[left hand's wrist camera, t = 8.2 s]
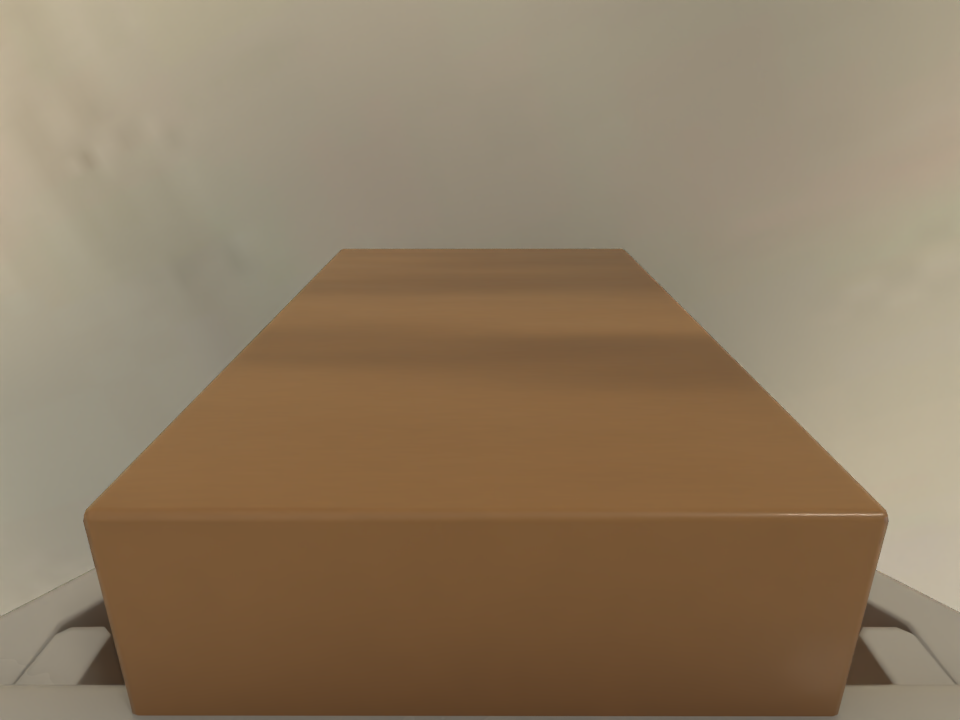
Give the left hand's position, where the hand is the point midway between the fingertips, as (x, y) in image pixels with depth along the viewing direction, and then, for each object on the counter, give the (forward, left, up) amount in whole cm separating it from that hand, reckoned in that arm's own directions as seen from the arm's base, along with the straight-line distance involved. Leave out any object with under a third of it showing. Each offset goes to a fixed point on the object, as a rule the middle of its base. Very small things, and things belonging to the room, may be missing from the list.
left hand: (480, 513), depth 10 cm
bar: (+9, 0, -3) cm, 9 cm away
